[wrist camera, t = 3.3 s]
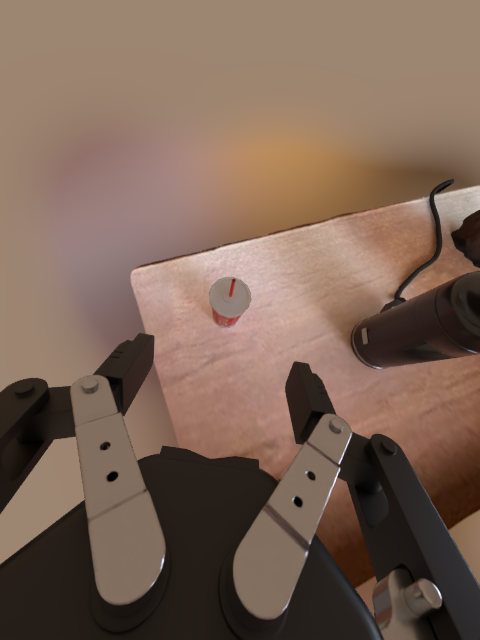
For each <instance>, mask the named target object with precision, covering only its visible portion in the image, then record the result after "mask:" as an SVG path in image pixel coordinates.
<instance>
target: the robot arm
mask: <svg viewBox="0 0 480 640" xmlns="http://www.w3.org/2000/svg"><path fill="white" fill-rule="evenodd" d="M452 183H454V179H452V180H448V181H446V182H443V183H442V184H440V185H438V186H437V187H436V188H434V190H433V191H432V192H431V194H430V198H429V202H430V207H431V210H432V213H433V216H434V219H435V225H436V235H437V248H436V252H435V254H434V256H433V257H432V258H431V260H429V261H428V262H426V263H425V264H423V265H422V266H420V267H419V268H417V269H416V270H415V271H414V272H413V273H412V274H411V275H410V276H409V277H408V278H407V279H406V280H405V281H404V283H403V284H402V285H401V286H400V287H399V289H398V290H397V292H396V294H395V300H394V301H392V302H390V303H388V304H386V305H385V306H384V307H383V309H382V310H381V312H380V313H379V314H377V315H375V316H373V317H371V318H369V319H366V320H363V321H361V322H359V323H358V324H357V325H356V326H355V328H354V329H353V331H352V335H351V343H352V347H353V350H354V352H355V354H356V356H357V357H358V358H359V359H360V360H361V361H362V362H363V363H364V364H366V365H367V366H369V367H372V368H375V369H384V368H389V367H394V366H402V365H409V364H416V363H423V362H430V361H437V360H444V359H451V358H458V357H464V356H471V355H478V354H480V271H477V272H471V273H467V274H464V275H462V276H459V277H457V278H455V279H453V280H450V281H448V282H446V283H444V284H442V285H440V286H438V287H435V288H433V289H431V290H429V291H427V292H425V293H423V294H421V295H419V296H416V297H414V298H412V299H409V300H407V301H406V300H405V298H401V297H400V295H401V293H402V291H403V290H404V288H405V287H406V286H407V285H408V284H409V283H410V282H411V281H412V280H413V279H414V277H415V276H416V275H417V274H418V273H419V272H420V271H422V270H423V269H425V268H426V267H428V266H429V265H431V264H432V263H433V262H435V261H436V260H437V258H438V257H439V255H440V252H441V248H442V234H441V225H440V218H439V215H438V212H437V209H436V206H435V202H434V195H435V194H438V193H440V192H441V191H442V190H444V189H445V188H446V187H448V186H450V185H451V184H452ZM153 359H154V336H153V335H148V334H142V333H139V334H138V335H137V336H136V338H135V339H134V340H133V341H129V340H127V341H125V342H123V343H121V344H120V345H119V346H118V347H117V348H116V349H115V350H114V352H112V353H111V355H110V356H109V357H108V358H107V359H106V360H105V361H104V363H103V364H102V365H101V366H100V367H99V368H98V370H97V371H96V372H95V373H94V374H93V375H90V376H86V377H83V378H80V379H78V380H77V381H76V382H74V383H73V384H72V386H65V387H52V388H48V384H47V382H46V381H45V380H43V379H39V378H29V379H23V380H20V381H17V382H15V383H12V384H11V385H9V386H8V387H6V388H5V389H4V390H3V391H2V392H0V514H1V512H2V511H3V510H4V508H5V507H6V505H7V504H8V503H9V501H10V500H11V499H12V497H13V496H14V494H15V493H16V491H17V490H18V489H19V487H20V486H21V485H22V483H23V482H24V481H25V479H26V478H27V476H28V475H29V474H30V472H31V471H32V469H33V468H34V467H35V465H36V464H37V463H38V461H39V460H40V458H41V457H42V456H43V454H44V453H45V451H46V450H47V449H48V447H49V446H50V445H51V443H52V442H53V440H54V439H61V438H68V437H75V436H76V440H77V447H78V455H79V462H80V469H81V476H82V483H83V491H84V498H85V500H84V501H82V502H81V503H80V504H78V505H77V506H76V507H74V508H73V509H72V510H71V511H69V512H68V513H67V514H65V515H64V516H63V517H61V518H60V519H59V520H58V521H56V522H55V523H54V524H52V525H51V526H50V527H48V528H47V529H46V530H44V531H43V532H42V533H41V534H39V535H38V536H37V537H35V538H34V539H33V540H31V541H30V542H29V543H28V544H26V545H25V546H24V547H22V548H21V549H20V550H19V551H17V552H16V553H14V554H13V555H12V556H11V557H9V558H8V559H7V560H5V561H4V562H3V563H1V564H0V640H480V585H479V584H478V582H477V580H476V578H475V577H474V575H473V573H472V571H471V570H470V568H469V566H468V564H467V563H466V561H465V559H464V557H463V556H462V554H461V552H460V550H459V549H458V547H457V545H456V543H455V542H454V540H453V538H452V537H451V535H450V533H449V531H448V529H447V528H446V526H445V524H444V522H443V520H442V519H441V517H440V515H439V513H438V512H437V510H436V508H435V506H434V505H433V503H432V501H431V499H430V498H429V496H428V494H427V492H426V491H425V489H424V487H423V485H422V484H421V482H420V480H419V478H418V477H417V475H416V473H415V471H414V470H413V468H412V466H411V464H410V463H409V461H408V459H407V457H406V456H405V454H404V452H403V451H402V449H401V448H400V446H399V445H398V444H397V443H396V442H394V441H393V440H392V439H390V438H389V437H387V436H385V435H382V434H374V435H372V437H371V438H370V439H367V438H365V437H363V436H360V435H358V434H356V433H354V432H352V431H351V428H350V426H349V425H348V423H347V422H346V421H345V420H343V419H342V418H341V417H339V416H337V415H336V412H335V410H334V408H333V405H332V403H331V401H330V398H329V396H328V395H327V391H326V389H325V386H324V384H323V382H322V380H321V379H320V378H319V377H318V376H317V374H314V373H312V371H311V369H310V366H309V364H307V363H302V362H296V361H295V362H294V363H293V365H292V368H291V371H290V373H289V376H288V379H287V381H286V386H285V392H286V397H287V402H288V407H289V412H290V417H291V422H292V427H293V431H294V436H295V441H296V444H302V445H303V446H302V448H301V449H300V451H299V452H298V454H297V456H296V457H295V459H294V460H293V462H292V463H291V465H290V467H289V468H288V470H287V471H286V473H285V475H284V476H283V478H282V479H281V481H280V483H279V482H278V481H277V480H276V479H275V478H274V477H273V476H271V475H270V474H269V473H267V472H265V471H264V470H262V469H260V468H259V460H257V459H250V458H243V457H237V456H234V457H225V458H217V459H209V458H206V457H204V456H202V455H199V454H197V453H195V452H192V451H190V450H188V449H182V448H176V447H168V446H162V449H161V452H160V454H154V455H150V456H147V457H144V458H142V459H140V460H138V461H137V459H136V456H135V453H134V450H133V447H132V444H131V441H130V438H129V435H128V432H127V429H126V426H125V422H124V419H123V416H125V414H126V412H127V410H128V408H129V407H130V405H131V403H132V401H133V400H134V398H135V396H136V394H137V392H138V391H139V389H140V387H141V385H142V383H143V382H144V380H145V378H146V376H147V375H148V372H149V371H150V369H151V367H152V364H153ZM337 477H338V478H340V479H342V480H344V481H346V482H347V484H348V488H349V491H350V494H351V498H352V501H353V504H354V507H355V511H356V514H357V517H358V520H359V524H360V527H361V530H362V534H363V537H364V540H365V543H366V547H367V550H368V553H369V556H370V560H371V563H372V566H373V569H374V573H375V576H376V579H377V583H376V585H375V586H374V588H373V595H372V597H373V605H374V611H375V613H374V616H375V619H374V617H373V615H372V613H371V612H370V610H369V609H368V607H367V605H366V604H365V602H364V601H363V600H362V598H361V597H360V595H359V594H358V593H357V591H356V590H355V588H354V587H353V586H352V584H351V583H350V581H349V580H348V578H347V577H346V576H345V574H344V573H343V571H342V570H341V569H340V567H339V566H338V564H337V563H336V562H335V560H334V559H333V557H332V556H331V555H330V553H329V552H328V550H327V549H326V547H325V546H324V545H323V543H322V542H321V540H320V539H319V538H318V536H317V535H316V533H315V531H316V529H317V526H318V524H319V521H320V519H321V516H322V514H323V511H324V509H325V506H326V504H327V501H328V499H329V496H330V494H331V491H332V489H333V486H334V483H335V481H336V478H337Z"/></svg>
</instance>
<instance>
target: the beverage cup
mask: <svg viewBox="0 0 480 640" xmlns="http://www.w3.org/2000/svg"><path fill="white" fill-rule="evenodd" d="M209 301H210V304H211V306H212V311H213V318H214V320H215V322H216V323H217V324H218V325H219V326H221V327H223V328H230V327H232V326H234V325H235V324H236V323H237V322H238V320H239V318H240V317H241V315H242V314H243V313H244V312H245V311H246V310H247V309H248V307H249V305H250V302H251V292H250V290H249V288H248V286H247V285H246V284H245V283H244V282H243V281H241V280H239V279H237V278H234V277H225V278H222V279H219V280H217V281H216V282H215V283H214V284H213V285H212V287H211V289H210V292H209Z"/></svg>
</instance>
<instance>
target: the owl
mask: <svg viewBox="0 0 480 640" xmlns="http://www.w3.org/2000/svg"><path fill="white" fill-rule="evenodd" d="M451 235H452V238H453V241H454V244H455V246H456V248H457V249H458V250H460V251H462V252H463V253H464V254H465V257H466V258H468V259H470V260H471V261H472V262H473V264H474V266H477V267H479V268H480V210H478V211H476V212H475V213H473V214H471V215H469V216H468V217H466V218H465V219H464V221H463V224H462V226H461V227H460V229H458V230H456V231H454V232H452V234H451Z"/></svg>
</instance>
